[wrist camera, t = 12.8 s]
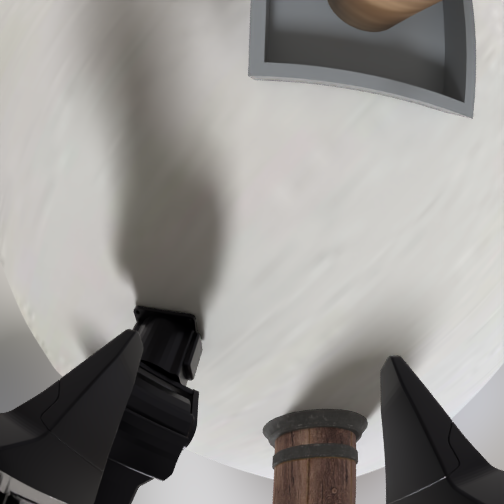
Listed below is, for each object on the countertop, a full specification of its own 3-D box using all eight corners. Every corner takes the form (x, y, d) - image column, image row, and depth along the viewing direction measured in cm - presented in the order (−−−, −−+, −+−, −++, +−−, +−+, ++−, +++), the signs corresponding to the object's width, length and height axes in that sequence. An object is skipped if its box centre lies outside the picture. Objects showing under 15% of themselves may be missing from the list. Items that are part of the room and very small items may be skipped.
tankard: (256, 410, 35) (237, 543, 18) (377, 403, 33) (390, 535, 16) (270, 458, 47) (260, 542, 30) (352, 454, 44) (354, 539, 27)
